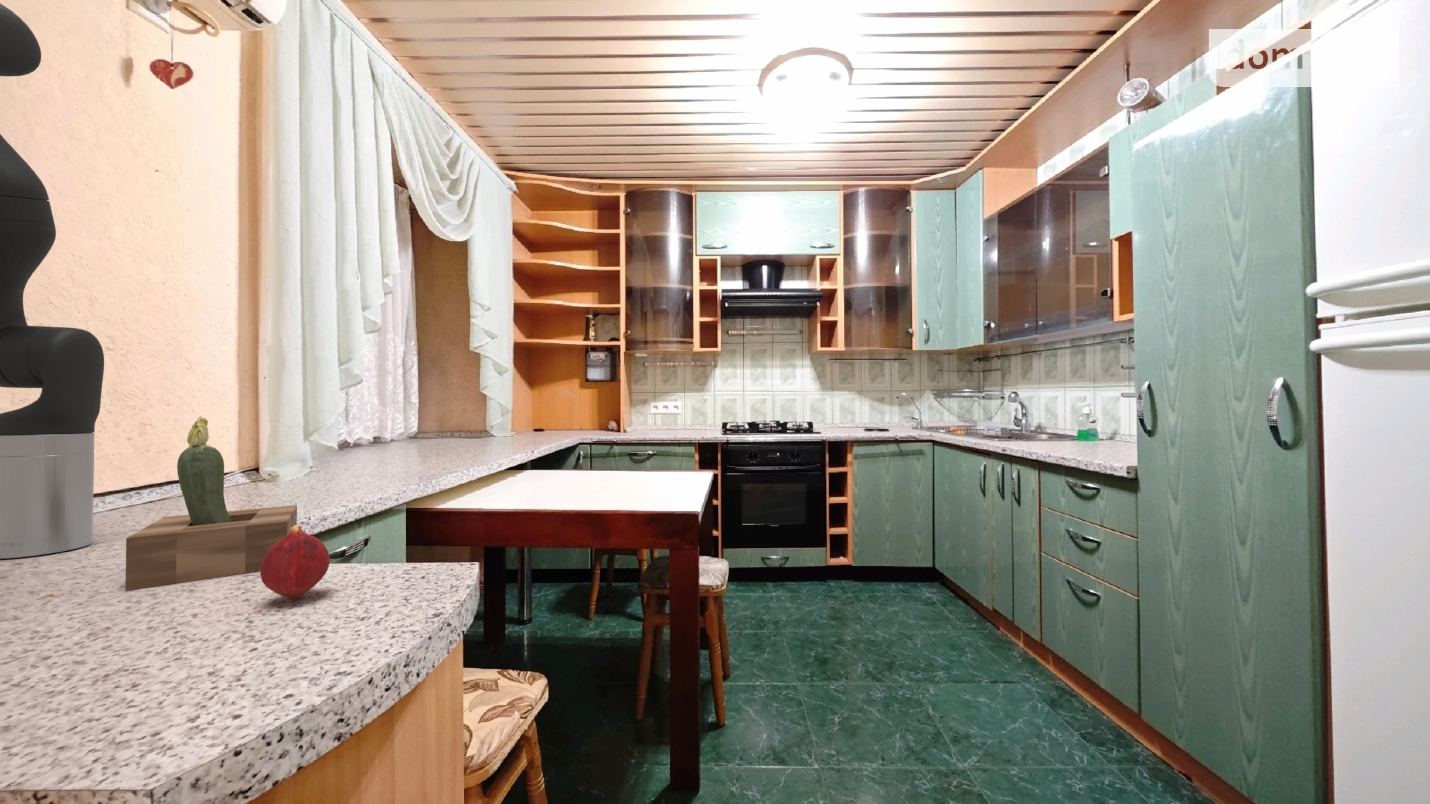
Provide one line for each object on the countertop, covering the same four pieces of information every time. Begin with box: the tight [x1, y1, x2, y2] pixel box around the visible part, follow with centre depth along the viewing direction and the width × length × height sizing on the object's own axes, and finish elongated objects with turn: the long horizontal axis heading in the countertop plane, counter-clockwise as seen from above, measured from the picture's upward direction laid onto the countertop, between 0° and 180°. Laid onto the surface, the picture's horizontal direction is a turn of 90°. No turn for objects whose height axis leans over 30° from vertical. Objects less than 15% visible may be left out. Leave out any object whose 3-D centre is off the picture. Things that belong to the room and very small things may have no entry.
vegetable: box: [176, 416, 232, 526], centre depth 65 cm, size 4×4×20 cm
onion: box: [259, 524, 331, 600], centre depth 54 cm, size 6×6×8 cm
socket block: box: [124, 504, 298, 591], centre depth 66 cm, size 14×14×6 cm
